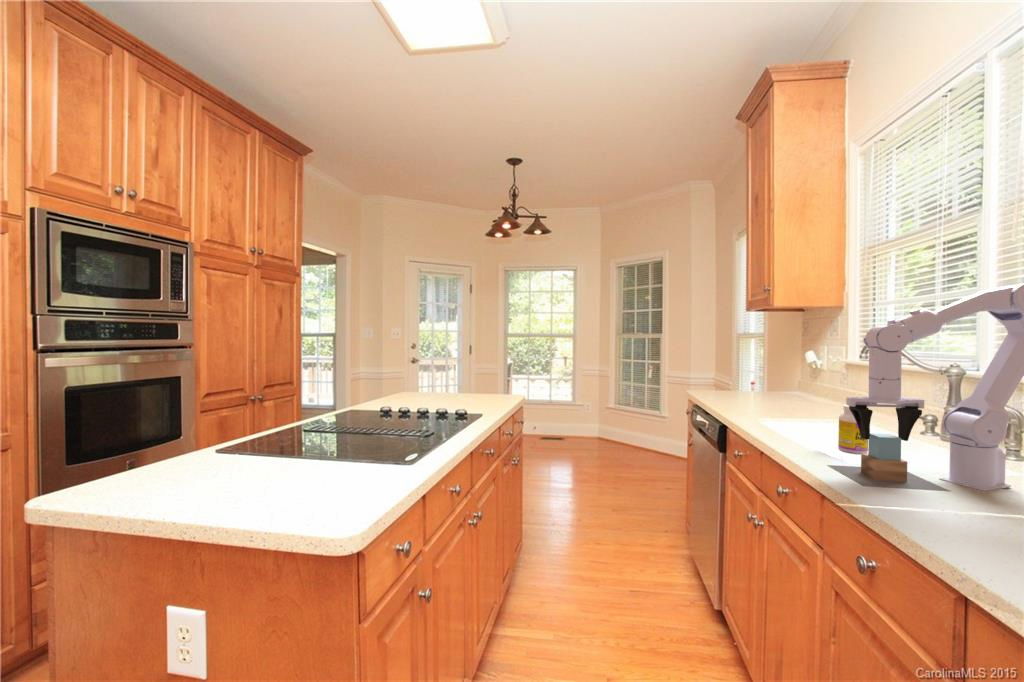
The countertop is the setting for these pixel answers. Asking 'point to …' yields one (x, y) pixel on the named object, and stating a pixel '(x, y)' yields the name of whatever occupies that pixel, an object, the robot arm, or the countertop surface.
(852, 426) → the supplement bottle
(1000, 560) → the countertop surface
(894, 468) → the slab top
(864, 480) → the mat
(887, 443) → the blue block
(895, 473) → the slab bottom
